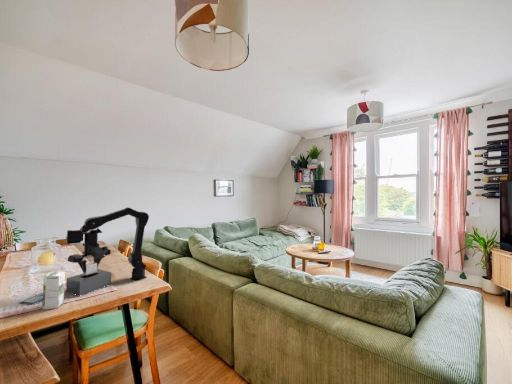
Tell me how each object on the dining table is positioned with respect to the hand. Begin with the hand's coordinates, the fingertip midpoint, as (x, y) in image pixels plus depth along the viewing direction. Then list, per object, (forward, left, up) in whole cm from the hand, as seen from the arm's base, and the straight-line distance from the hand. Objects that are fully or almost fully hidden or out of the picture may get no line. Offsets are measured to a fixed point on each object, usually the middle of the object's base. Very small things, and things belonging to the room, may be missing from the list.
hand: (90, 271), depth 125 cm
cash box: (0, 0, -9) cm, 9 cm away
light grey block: (0, 0, -1) cm, 1 cm away
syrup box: (+19, +6, -9) cm, 22 cm away
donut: (-9, -13, -9) cm, 18 cm away
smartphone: (+16, -9, -10) cm, 21 cm away
